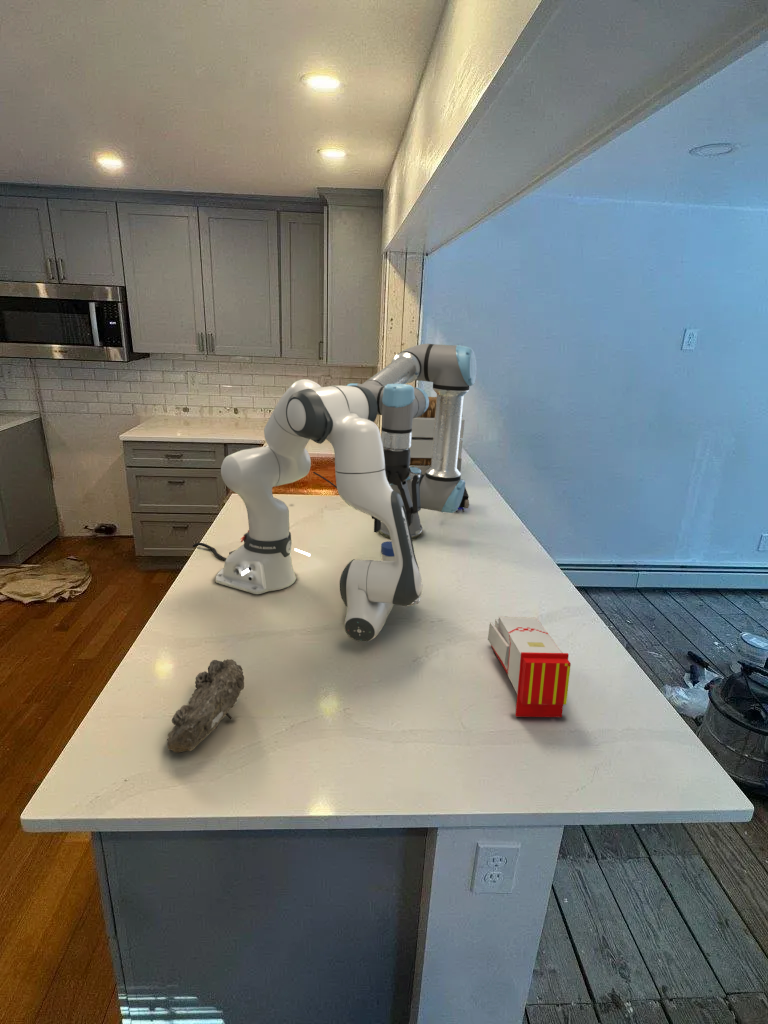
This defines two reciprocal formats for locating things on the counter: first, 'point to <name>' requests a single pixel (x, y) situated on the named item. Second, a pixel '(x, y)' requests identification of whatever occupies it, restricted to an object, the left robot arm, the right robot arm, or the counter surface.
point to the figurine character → (464, 501)
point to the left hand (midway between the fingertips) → (389, 574)
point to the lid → (387, 548)
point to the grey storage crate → (427, 437)
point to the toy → (531, 665)
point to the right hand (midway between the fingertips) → (391, 533)
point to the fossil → (206, 705)
